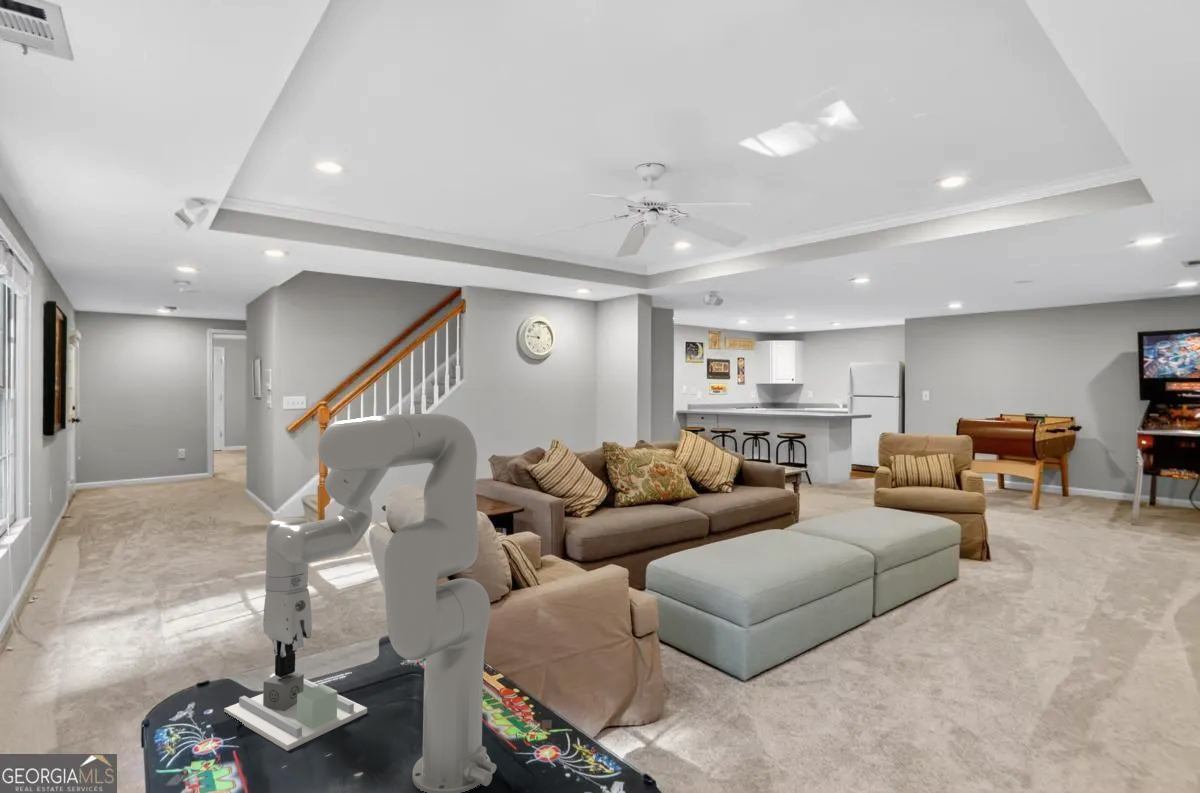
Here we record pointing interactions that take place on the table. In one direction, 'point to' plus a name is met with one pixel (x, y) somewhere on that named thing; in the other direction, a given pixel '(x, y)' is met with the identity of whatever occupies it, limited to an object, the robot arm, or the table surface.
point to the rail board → (293, 717)
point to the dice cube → (282, 691)
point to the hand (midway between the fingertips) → (285, 673)
